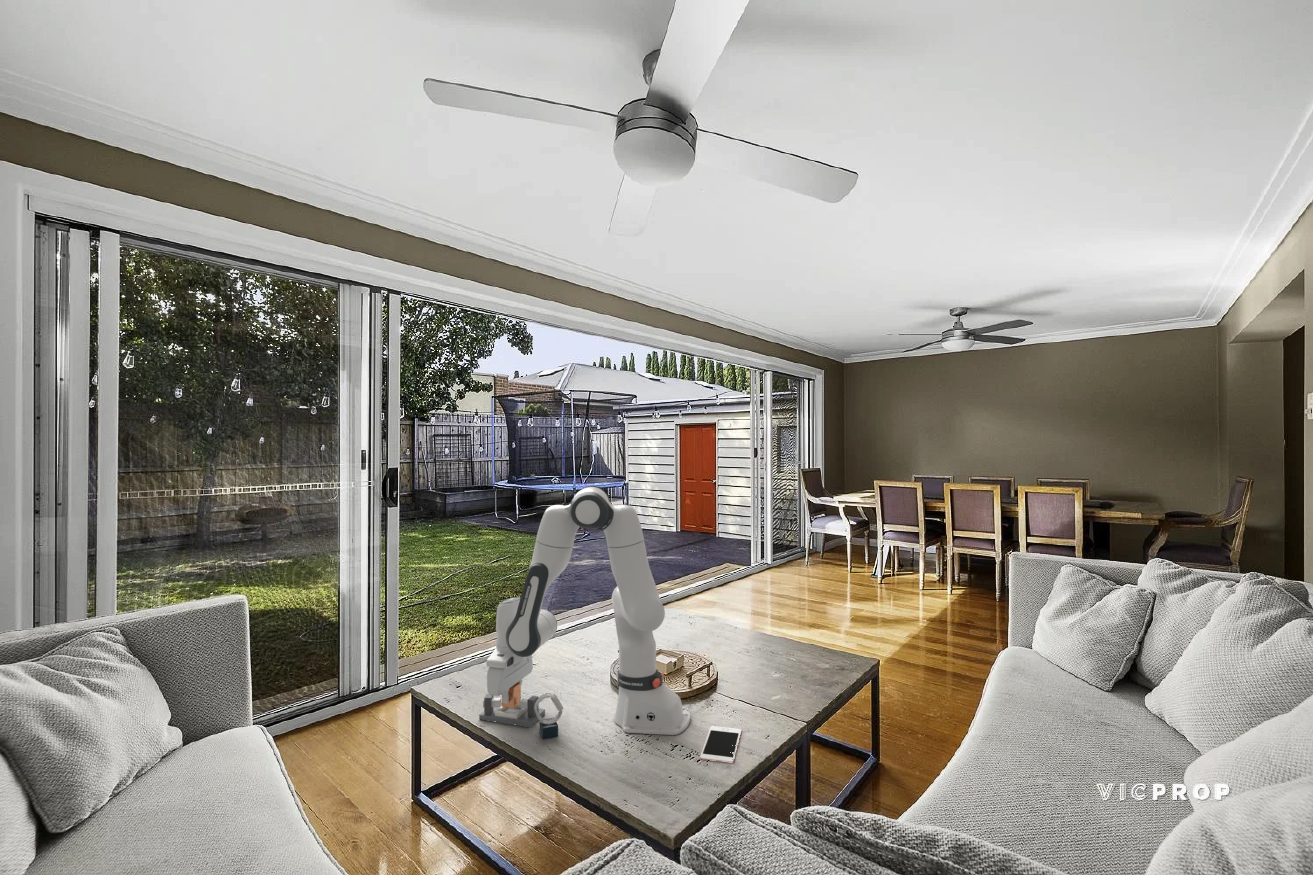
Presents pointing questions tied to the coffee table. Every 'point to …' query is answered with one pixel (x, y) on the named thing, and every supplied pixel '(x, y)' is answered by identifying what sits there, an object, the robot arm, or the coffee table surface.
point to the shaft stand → (511, 711)
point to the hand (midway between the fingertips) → (511, 698)
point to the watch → (550, 724)
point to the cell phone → (720, 744)
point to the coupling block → (513, 696)
